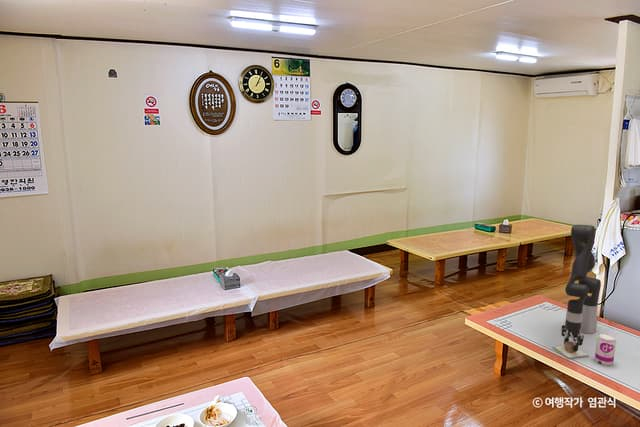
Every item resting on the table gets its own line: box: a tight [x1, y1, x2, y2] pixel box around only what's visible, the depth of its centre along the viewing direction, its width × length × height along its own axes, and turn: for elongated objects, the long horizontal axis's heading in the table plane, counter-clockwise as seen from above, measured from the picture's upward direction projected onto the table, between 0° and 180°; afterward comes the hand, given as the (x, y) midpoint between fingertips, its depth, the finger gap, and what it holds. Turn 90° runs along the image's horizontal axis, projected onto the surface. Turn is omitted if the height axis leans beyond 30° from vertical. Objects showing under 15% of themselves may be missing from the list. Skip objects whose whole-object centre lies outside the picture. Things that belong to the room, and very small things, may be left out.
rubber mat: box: [551, 346, 590, 360], centre depth 242 cm, size 13×13×1 cm
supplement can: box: [594, 333, 617, 367], centre depth 231 cm, size 8×8×15 cm
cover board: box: [553, 340, 588, 359], centre depth 242 cm, size 11×11×5 cm
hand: (570, 348), depth 242 cm, fingers open, 6 cm apart
